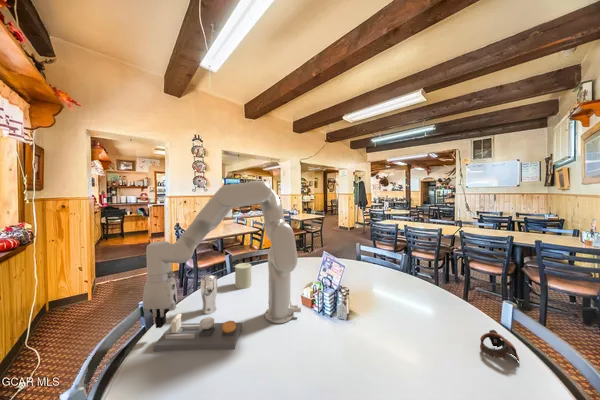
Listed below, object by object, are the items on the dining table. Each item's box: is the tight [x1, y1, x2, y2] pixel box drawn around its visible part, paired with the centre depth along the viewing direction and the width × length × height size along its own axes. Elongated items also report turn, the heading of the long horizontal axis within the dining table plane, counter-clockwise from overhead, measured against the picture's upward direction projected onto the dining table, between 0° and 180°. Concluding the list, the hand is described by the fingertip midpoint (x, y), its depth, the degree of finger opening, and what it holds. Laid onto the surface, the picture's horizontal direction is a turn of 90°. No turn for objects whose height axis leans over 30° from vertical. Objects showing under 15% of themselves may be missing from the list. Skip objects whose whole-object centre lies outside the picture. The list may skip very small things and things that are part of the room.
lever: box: [170, 312, 183, 334], centre depth 81 cm, size 3×5×6 cm, turn 3°
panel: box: [153, 322, 243, 352], centre depth 82 cm, size 27×12×3 cm, turn 93°
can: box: [234, 262, 253, 290], centre depth 127 cm, size 9×9×12 cm
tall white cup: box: [200, 274, 218, 315], centre depth 100 cm, size 7×7×15 cm
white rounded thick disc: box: [199, 316, 215, 330], centre depth 82 cm, size 5×5×3 cm
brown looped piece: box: [479, 329, 520, 362], centre depth 75 cm, size 12×10×8 cm
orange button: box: [222, 320, 237, 333], centre depth 82 cm, size 5×5×3 cm
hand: (160, 325), depth 81 cm, fingers closed
